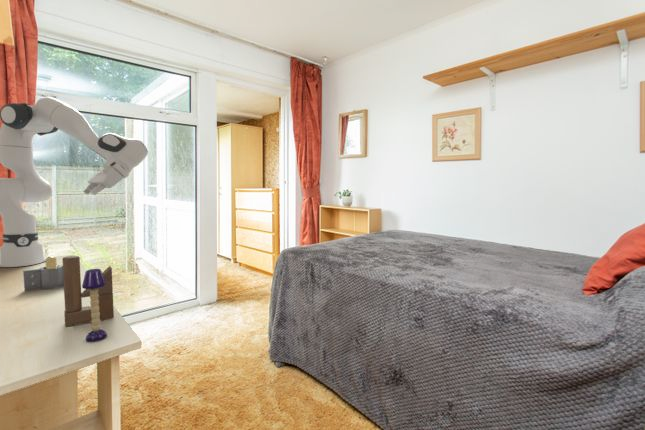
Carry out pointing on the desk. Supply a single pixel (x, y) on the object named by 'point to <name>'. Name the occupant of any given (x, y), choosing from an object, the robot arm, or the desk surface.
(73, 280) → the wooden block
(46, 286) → the octagonal sleeve with tab
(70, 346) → the desk surface
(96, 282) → the toy lamp
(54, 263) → the brass pin
